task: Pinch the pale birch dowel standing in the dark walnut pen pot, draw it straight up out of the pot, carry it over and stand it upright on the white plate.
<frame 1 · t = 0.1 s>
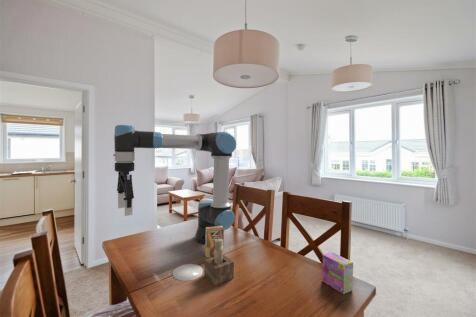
hand: (124, 211, 96), 28 cm above the table, fingers open, 13 cm apart
candy box: (214, 256, 116), on the table
white plate: (188, 274, 99), on the table
pen pot: (218, 279, 96), on the table
box: (336, 286, 93), on the table
dowel: (218, 277, 96), point 1 cm above the table, touching pen pot
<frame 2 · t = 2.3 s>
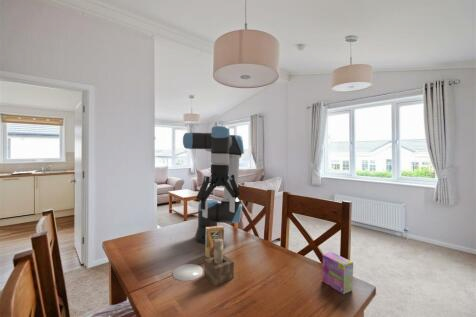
hand: (219, 214, 94), 28 cm above the table, fingers open, 13 cm apart
nothing on the table moved.
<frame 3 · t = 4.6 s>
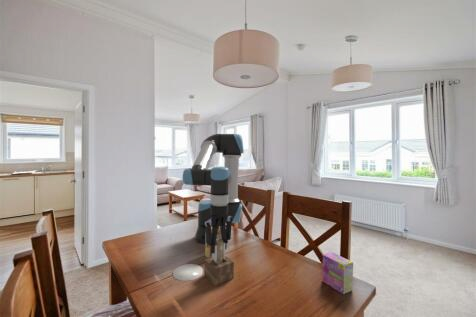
hand: (218, 258, 95), 9 cm above the table, fingers closed on dowel, 3 cm apart
dowel: (218, 277, 96), point 1 cm above the table, touching gripper, pen pot
everything else where it was.
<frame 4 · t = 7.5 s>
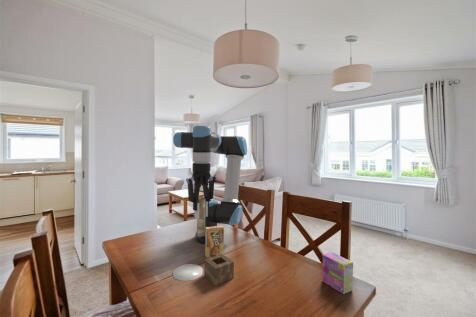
hand: (201, 216, 97), 26 cm above the table, fingers closed on dowel, 3 cm apart
dowel: (201, 235, 97), point 18 cm above the table, touching gripper
everything else where it was.
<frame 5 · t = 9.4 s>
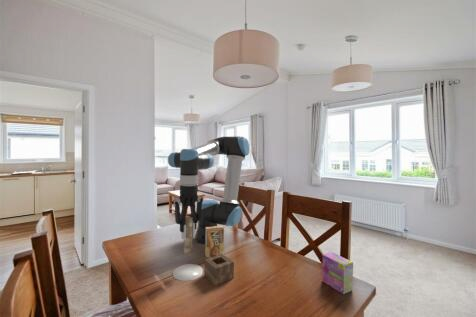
hand: (188, 237, 98), 16 cm above the table, fingers closed on dowel, 3 cm apart
dowel: (187, 253, 98), point 10 cm above the table, touching gripper
everything else where it was.
when the fingers open (10 cm above the table, at t = 10.6 s): dowel drops 2 cm, resting on white plate.
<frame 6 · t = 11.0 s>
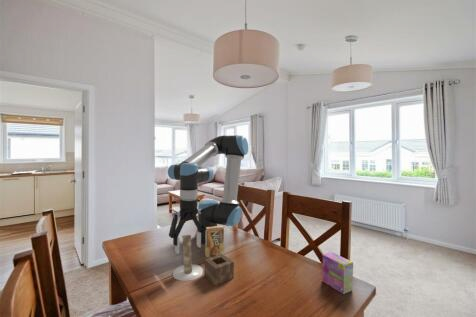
hand: (188, 249, 98), 11 cm above the table, fingers open, 9 cm apart
dowel: (188, 271, 99), point 1 cm above the table, touching white plate
everything else where it was.
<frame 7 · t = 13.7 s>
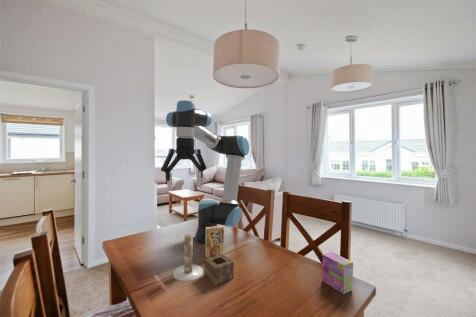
hand: (184, 187, 97), 39 cm above the table, fingers open, 13 cm apart
nothing on the table moved.
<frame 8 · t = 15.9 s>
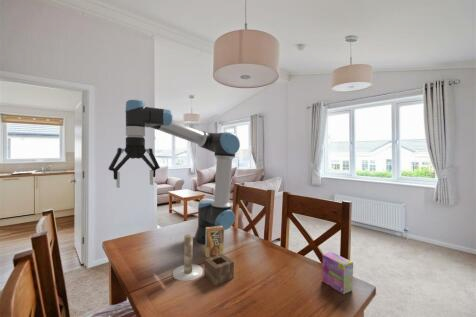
hand: (135, 185, 98), 39 cm above the table, fingers open, 13 cm apart
nothing on the table moved.
at the end: dowel 0.0 cm from the white plate (horizontally); dowel tilted 0°; dowel point 1.2 cm above the table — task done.
